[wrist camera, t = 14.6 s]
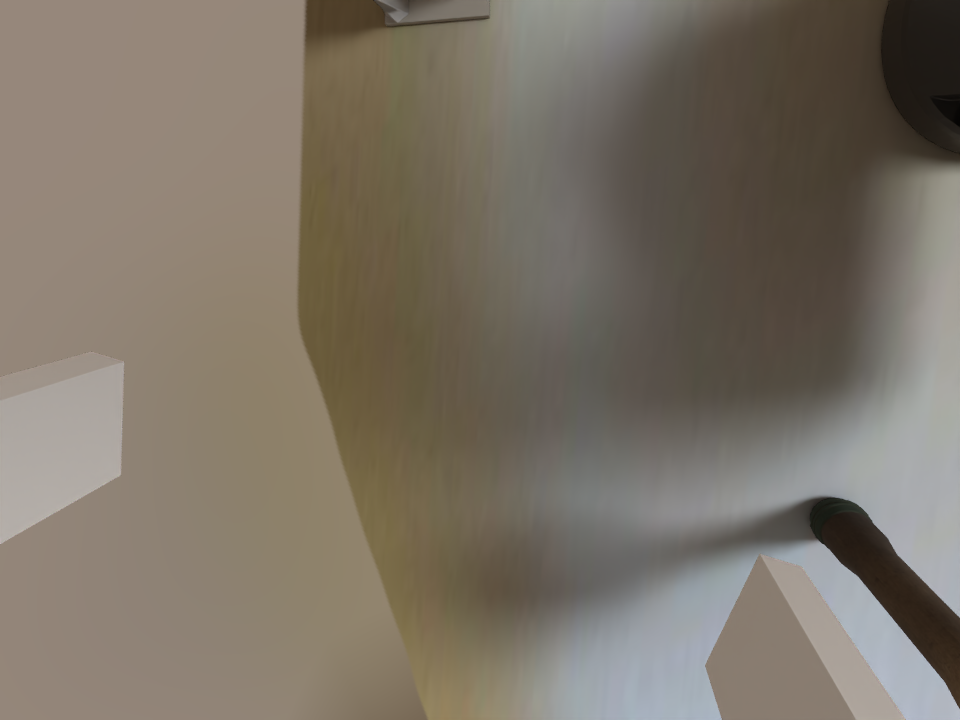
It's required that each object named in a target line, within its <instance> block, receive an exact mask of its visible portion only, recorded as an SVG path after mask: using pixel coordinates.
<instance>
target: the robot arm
mask: <svg viewBox="0 0 960 720" xmlns="http://www.w3.org/2000/svg"><path fill="white" fill-rule="evenodd" d="M882 62H883V70H884V75H885V79H886V83H887V86H888V89H889V92H890V94H891V97H892V99H893V101H894V103H895V105H896V106H897V108H898V110H899V111H900V113H901V114H902V115H903V117H904V118H905V119H906V121H907V122H908V123H909V124H910V125H911V126H912V127H913V128H914V129H915V130H916V131H918V132H919V133H920V134H921V135H923V136H924V137H925V138H927V139H928V140H930V141H932V142H933V143H935V144H937V145H939V146H941V147H943V148H946V149H948V150H951V151H954V152H957V153H960V0H890V2H889V5H888V9H887V13H886V17H885V22H884V27H883V36H882ZM123 385H124V361H121V360H118V359H115V358H112V357H108V356H105V355H102V354H98V353H95V352H92V351H91V352H87V353H84V354H80V355H76V356H73V357H69V358H66V359H62V360H58V361H55V362H51V363H48V364H44V365H40V366H36V367H33V368H29V369H26V370H22V371H19V372H15V373H11V374H8V375H4V376H0V544H1V543H3V542H5V541H6V540H8V539H10V538H12V537H13V536H15V535H17V534H19V533H20V532H22V531H24V530H26V529H27V528H29V527H31V526H33V525H34V524H36V523H38V522H40V521H41V520H43V519H45V518H47V517H48V516H50V515H52V514H54V513H55V512H57V511H59V510H61V509H62V508H64V507H66V506H68V505H69V504H71V503H73V502H75V501H76V500H78V499H80V498H82V497H83V496H85V495H87V494H89V493H90V492H92V491H94V490H96V489H97V488H99V487H101V486H103V485H104V484H106V483H108V482H110V481H111V480H113V479H115V478H117V477H118V476H120V475H121V449H122V419H123V418H122V417H123ZM705 667H706V670H707V673H708V676H709V679H710V683H711V686H712V689H713V692H714V695H715V699H716V702H717V705H718V708H719V711H720V715H721V718H722V720H906V719H905V718H904V716H903V715H902V713H901V712H900V710H899V709H898V707H897V706H896V705H895V703H894V702H893V700H892V699H891V697H890V696H889V694H888V693H887V691H886V690H885V688H884V687H883V685H882V684H881V683H880V681H879V680H878V678H877V677H876V675H875V674H874V672H873V671H872V669H871V668H870V666H869V665H868V663H867V662H866V660H865V659H864V658H863V656H862V655H861V653H860V652H859V650H858V649H857V647H856V646H855V644H854V643H853V641H852V640H851V638H850V637H849V636H848V634H847V633H846V631H845V630H844V628H843V627H842V625H841V624H840V622H839V621H838V619H837V618H836V616H835V615H834V614H833V612H832V611H831V609H830V608H829V606H828V605H827V603H826V602H825V600H824V599H823V597H822V596H821V594H820V593H819V591H818V590H817V589H816V587H815V586H814V584H813V583H812V581H811V580H810V578H809V577H808V575H807V574H806V572H805V571H804V569H803V568H802V567H801V566H798V565H794V564H791V563H788V562H784V561H781V560H778V559H775V558H771V557H768V556H765V555H761V554H759V556H758V558H757V560H756V562H755V565H754V567H753V569H752V571H751V573H750V575H749V577H748V579H747V581H746V583H745V585H744V587H743V589H742V591H741V593H740V595H739V597H738V599H737V601H736V603H735V605H734V607H733V609H732V612H731V614H730V616H729V618H728V620H727V622H726V624H725V626H724V628H723V630H722V632H721V634H720V636H719V638H718V640H717V642H716V644H715V646H714V648H713V650H712V652H711V654H710V656H709V658H708V661H707V663H706V665H705Z"/></svg>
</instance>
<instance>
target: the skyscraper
mask: <svg viewBox="0 0 960 720" xmlns="http://www.w3.org/2000/svg"><path fill="white" fill-rule="evenodd" d="M374 1H375V2H376V3H377V4H378V5H379V6H380V7H381V8H382V9H383V11H384V13H385V24H386V26H387V27H388V26H399V25H411V24H423V23H435V22H447V21H458V20H470V19H482V18H490V0H374Z"/></svg>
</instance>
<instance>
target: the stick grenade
mask: <svg viewBox="0 0 960 720" xmlns="http://www.w3.org/2000/svg"><path fill="white" fill-rule="evenodd" d="M810 522H811V524H810V526H811V528H812V531H813V533H814V535H815V536H816V538H817V539H818V540H819V541H820V542H821V543H822V544H824V545H825V546H826V547H827V548H828V549H830V550H831V552H832V553H833V554H834V555H835V556H836V558H837V559H838V560H839V561H840V562H841V563H842V564H843V565H844V566H845V567H847V568H848V569H849V570H850V571H852V572H853V573H854V574H856V575H857V576H858V577H859V578H860V579H861V580H862V582H863V583H864V584H865V585H866V587H867V588H868V589H869V590H870V591H871V593H872V594H873V595H874V596H875V598H876V599H877V600H878V601H879V602H880V604H881V605H882V606H883V607H884V608H885V610H886V611H887V612H888V613H889V615H890V616H891V617H892V618H893V619H894V621H895V622H896V623H897V624H898V626H899V627H900V628H901V629H902V630H903V632H904V633H905V634H906V635H907V637H908V638H909V639H910V640H911V641H912V643H913V644H914V645H915V646H916V647H917V649H918V650H919V651H920V652H921V654H922V655H923V656H924V657H925V658H926V660H927V661H928V662H929V663H930V665H931V666H932V667H933V668H934V669H935V671H936V672H937V673H938V674H939V676H940V677H941V678H942V679H943V680H944V682H945V683H946V685H947V687H948V689H949V690H950V692H951V694H952V696H953V698H954V700H955V701H956V703H957V705H958V707H959V709H960V618H959V617H958V616H957V615H956V614H955V613H954V612H953V611H952V610H951V609H950V608H949V607H948V606H947V605H946V604H945V603H944V602H943V601H942V600H941V599H940V598H939V597H938V596H937V595H936V594H935V593H934V592H933V591H932V590H931V589H930V588H929V586H928V585H927V584H926V583H925V582H924V581H923V580H922V579H921V578H920V577H919V576H918V575H917V574H916V573H915V572H914V571H913V570H912V569H911V568H910V567H909V566H908V565H907V564H906V563H905V562H904V561H903V560H902V559H901V558H900V557H899V556H898V555H897V554H896V552H895V550H894V549H893V547H892V545H891V543H890V542H889V540H888V538H887V537H886V536H885V535H884V534H883V533H882V532H881V531H880V530H879V529H878V528H877V527H876V526H875V525H874V524H873V522H872V520H871V519H870V518H869V516H868V514H867V513H866V512H865V511H864V510H863V509H862V508H861V507H859V506H858V505H857V504H855V503H853V502H851V501H848V500H844V499H840V498H831V499H826V500H824V501H822V502H819V503H818V504H817V505H816V506H815V507H814V508H813V510H812V512H811V514H810Z"/></svg>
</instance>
